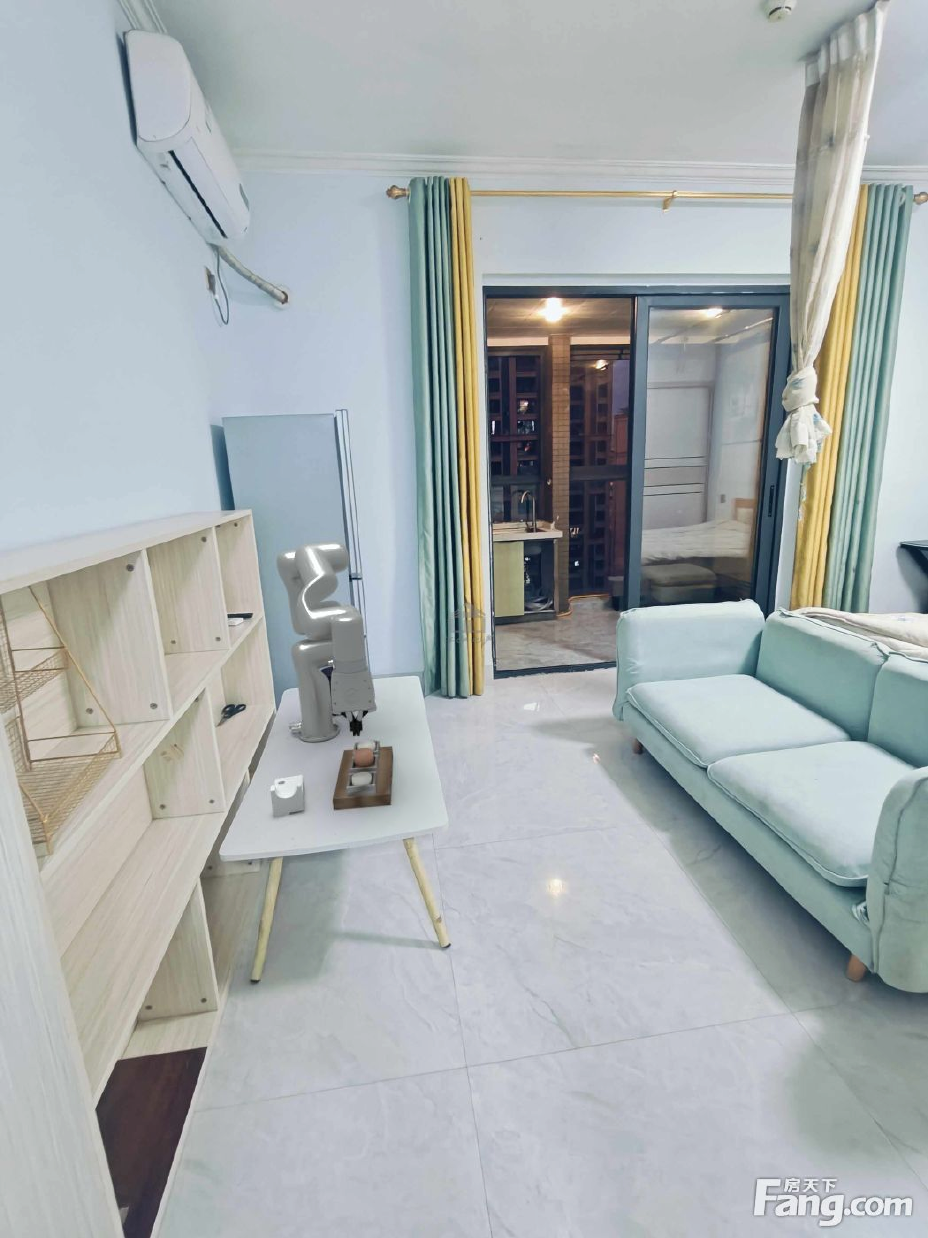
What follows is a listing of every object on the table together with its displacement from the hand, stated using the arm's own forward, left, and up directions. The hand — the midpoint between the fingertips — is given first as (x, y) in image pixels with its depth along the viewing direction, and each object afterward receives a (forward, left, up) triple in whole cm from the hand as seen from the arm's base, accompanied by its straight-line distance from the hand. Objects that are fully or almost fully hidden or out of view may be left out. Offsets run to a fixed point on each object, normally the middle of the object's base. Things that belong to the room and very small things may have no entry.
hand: (356, 733), depth 143 cm
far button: (0, +17, -15) cm, 23 cm away
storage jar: (-13, +58, -18) cm, 63 cm away
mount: (0, +9, -18) cm, 20 cm away
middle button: (0, +9, -12) cm, 15 cm away
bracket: (-19, +2, -18) cm, 26 cm away
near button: (0, -1, -15) cm, 15 cm away
